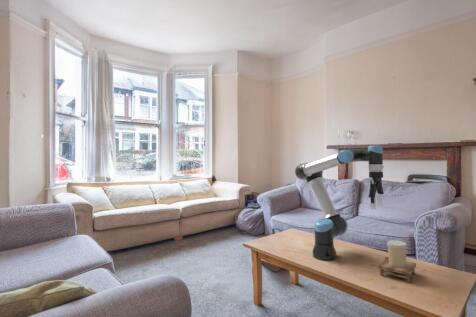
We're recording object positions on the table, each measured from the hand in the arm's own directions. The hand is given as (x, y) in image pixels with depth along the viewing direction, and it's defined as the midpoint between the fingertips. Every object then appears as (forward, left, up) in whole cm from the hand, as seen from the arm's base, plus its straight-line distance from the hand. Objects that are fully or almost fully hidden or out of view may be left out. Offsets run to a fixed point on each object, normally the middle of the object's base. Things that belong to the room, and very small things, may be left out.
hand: (376, 206), depth 159 cm
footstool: (+12, -8, -35) cm, 37 cm away
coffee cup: (+12, -8, -29) cm, 33 cm away
